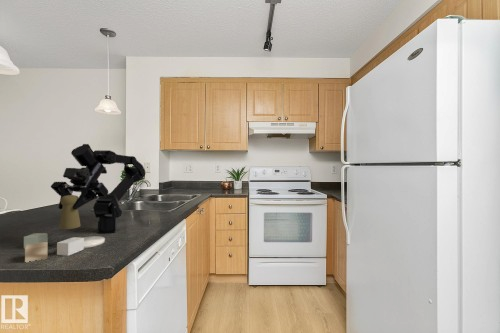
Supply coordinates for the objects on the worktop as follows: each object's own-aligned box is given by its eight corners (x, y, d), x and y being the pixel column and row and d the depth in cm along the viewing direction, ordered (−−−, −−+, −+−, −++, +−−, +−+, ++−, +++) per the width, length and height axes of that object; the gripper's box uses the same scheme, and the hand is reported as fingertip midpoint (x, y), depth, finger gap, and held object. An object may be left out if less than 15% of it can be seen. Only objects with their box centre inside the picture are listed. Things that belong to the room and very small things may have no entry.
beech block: (47, 254, 78) (47, 241, 78) (47, 259, 74) (47, 245, 74) (26, 257, 74) (26, 244, 74) (25, 263, 70) (25, 249, 70)
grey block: (73, 248, 83) (73, 237, 83) (83, 249, 82) (83, 237, 82) (56, 255, 77) (57, 242, 77) (68, 256, 76) (68, 243, 76)
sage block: (47, 244, 87) (47, 233, 87) (37, 248, 83) (37, 236, 83) (34, 244, 87) (34, 233, 87) (23, 248, 82) (23, 236, 82)
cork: (63, 225, 87) (63, 194, 86) (83, 224, 88) (83, 194, 88) (55, 229, 81) (55, 196, 81) (76, 228, 83) (76, 196, 82)
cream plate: (108, 238, 95) (108, 235, 95) (98, 247, 84) (98, 244, 84) (76, 239, 92) (76, 237, 92) (61, 249, 82) (61, 246, 82)
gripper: (55, 159, 89) (24, 193, 78) (102, 160, 87) (78, 195, 76) (72, 179, 97) (47, 212, 86) (117, 180, 95) (96, 214, 84)
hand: (66, 208), depth 83 cm, fingers closed on cork, 5 cm apart
